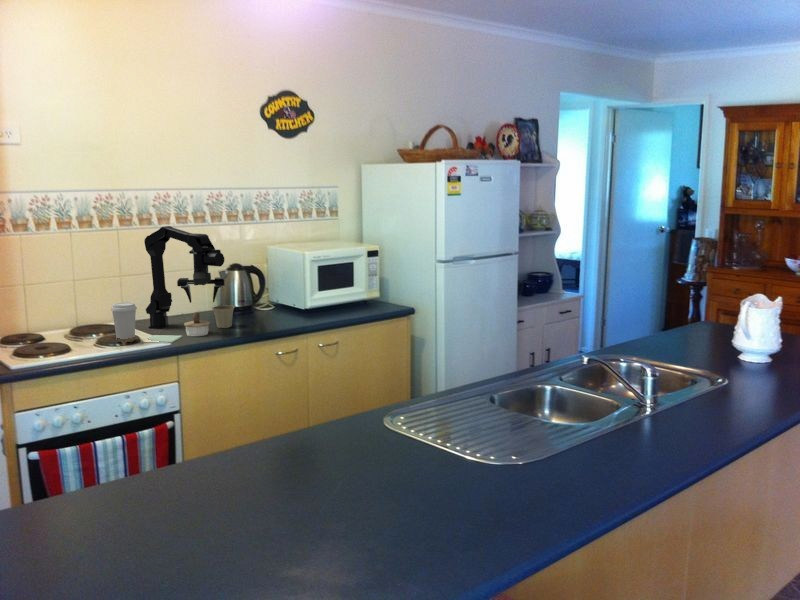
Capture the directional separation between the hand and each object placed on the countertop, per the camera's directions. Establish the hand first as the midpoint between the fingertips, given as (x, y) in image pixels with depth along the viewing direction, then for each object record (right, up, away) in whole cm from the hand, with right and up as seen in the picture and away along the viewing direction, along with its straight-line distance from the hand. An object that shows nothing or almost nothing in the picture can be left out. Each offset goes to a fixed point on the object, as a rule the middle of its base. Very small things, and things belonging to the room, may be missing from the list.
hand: (202, 302), depth 303 cm
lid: (-2, -9, -2) cm, 9 cm away
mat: (-13, -15, -11) cm, 23 cm away
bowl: (-2, -13, -1) cm, 13 cm away
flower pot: (+6, -11, +14) cm, 19 cm away
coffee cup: (-26, -16, -15) cm, 34 cm away
